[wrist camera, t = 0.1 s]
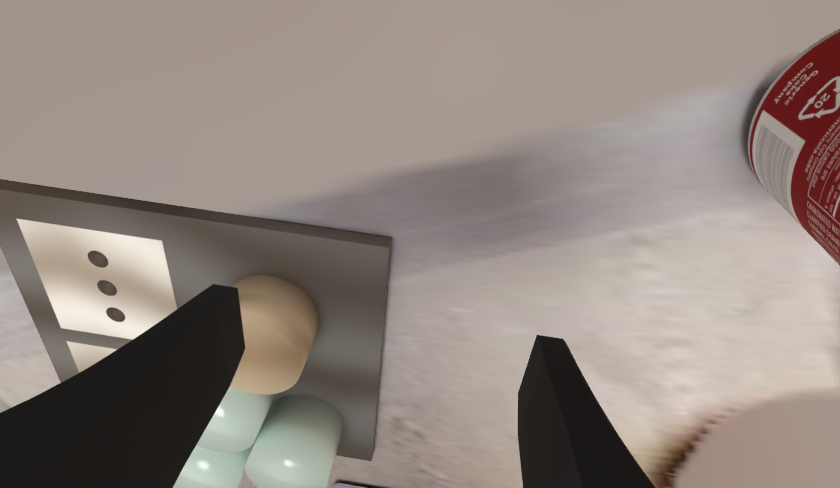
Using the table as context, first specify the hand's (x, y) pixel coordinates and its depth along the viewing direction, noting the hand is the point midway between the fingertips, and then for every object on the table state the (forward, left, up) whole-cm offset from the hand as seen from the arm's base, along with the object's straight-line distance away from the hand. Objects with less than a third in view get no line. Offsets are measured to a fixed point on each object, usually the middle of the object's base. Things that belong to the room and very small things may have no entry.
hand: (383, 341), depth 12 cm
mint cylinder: (-13, +9, -9) cm, 18 cm away
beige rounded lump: (-9, +7, -9) cm, 14 cm away
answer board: (-12, +11, -10) cm, 19 cm away
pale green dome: (-17, +5, -9) cm, 20 cm away
